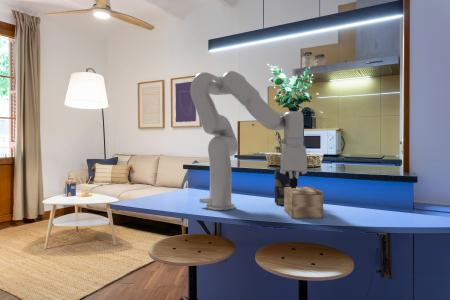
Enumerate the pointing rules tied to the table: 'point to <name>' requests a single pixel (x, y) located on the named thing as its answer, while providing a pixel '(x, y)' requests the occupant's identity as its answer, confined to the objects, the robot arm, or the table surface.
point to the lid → (303, 190)
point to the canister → (280, 185)
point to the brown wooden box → (303, 205)
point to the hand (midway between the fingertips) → (293, 188)
